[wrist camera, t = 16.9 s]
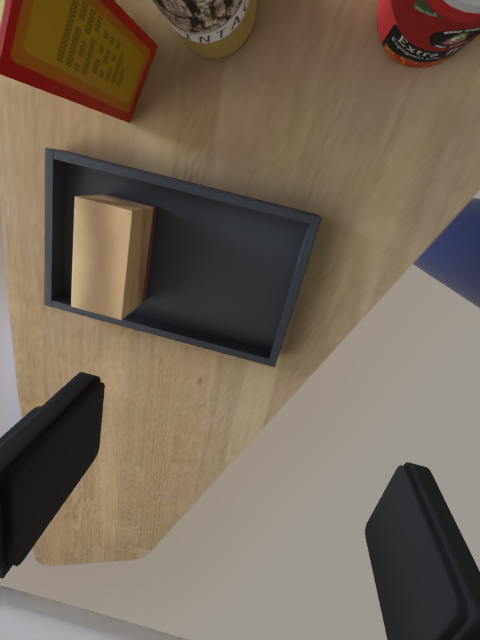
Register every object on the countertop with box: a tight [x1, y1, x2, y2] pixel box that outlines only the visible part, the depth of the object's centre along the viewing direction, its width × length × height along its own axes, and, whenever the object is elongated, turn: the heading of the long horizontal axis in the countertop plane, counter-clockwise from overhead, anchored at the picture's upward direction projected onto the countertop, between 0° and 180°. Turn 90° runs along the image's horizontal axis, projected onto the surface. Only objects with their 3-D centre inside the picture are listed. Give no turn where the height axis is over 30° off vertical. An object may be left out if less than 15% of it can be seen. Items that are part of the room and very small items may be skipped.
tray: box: [45, 148, 321, 367], centre depth 35 cm, size 26×16×3 cm, turn 77°
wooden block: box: [71, 194, 158, 320], centre depth 33 cm, size 5×10×6 cm, turn 167°
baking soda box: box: [0, 0, 157, 123], centre depth 23 cm, size 10×6×16 cm
